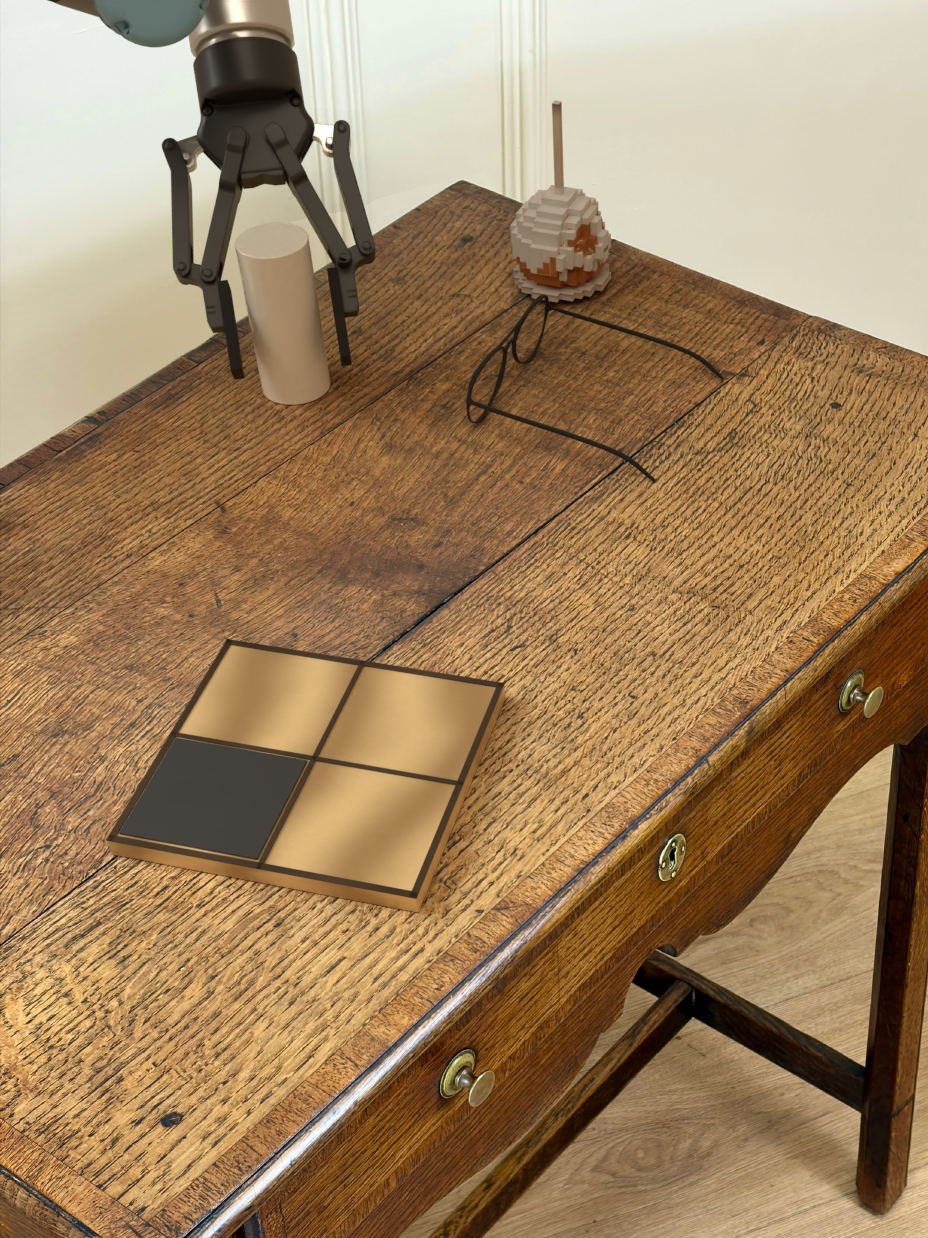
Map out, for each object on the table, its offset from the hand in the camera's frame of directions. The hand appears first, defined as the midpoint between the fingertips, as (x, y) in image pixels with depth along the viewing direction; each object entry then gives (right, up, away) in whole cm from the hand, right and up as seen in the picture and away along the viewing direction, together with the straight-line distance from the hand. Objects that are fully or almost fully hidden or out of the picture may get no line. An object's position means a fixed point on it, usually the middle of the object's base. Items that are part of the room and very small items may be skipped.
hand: (292, 367), depth 116 cm
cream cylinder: (-1, 0, +5) cm, 5 cm away
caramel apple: (+20, +10, +15) cm, 27 cm away
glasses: (+22, -3, +2) cm, 22 cm away
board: (+5, -29, -23) cm, 38 cm away
